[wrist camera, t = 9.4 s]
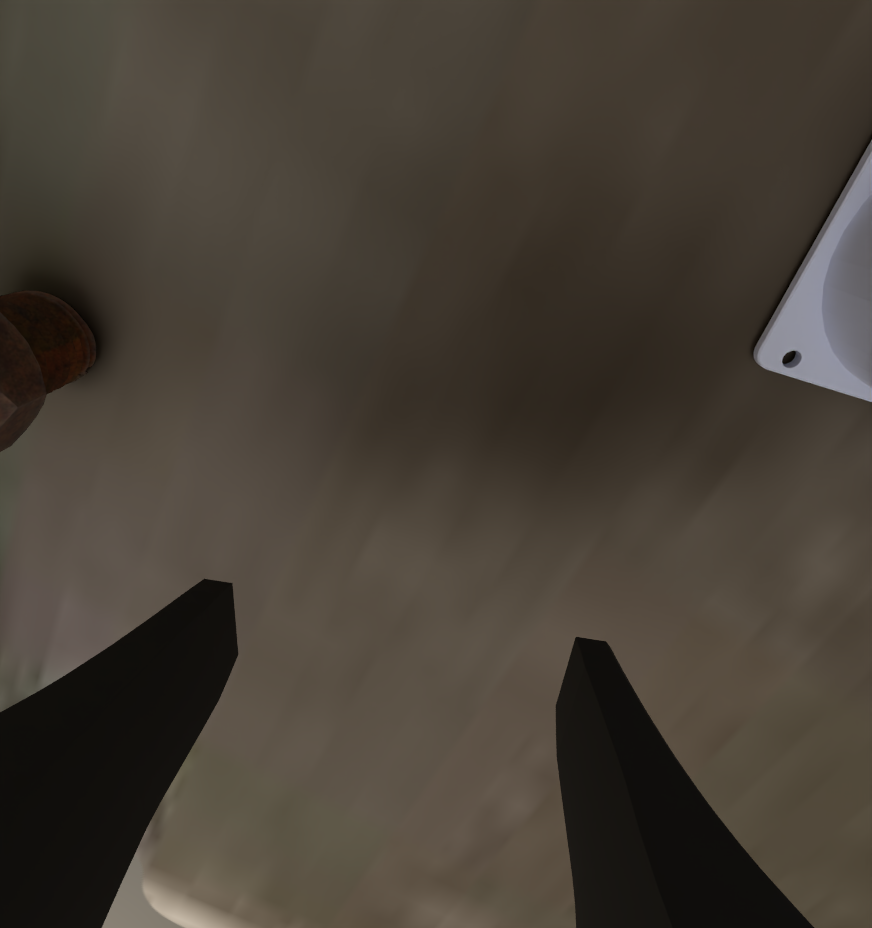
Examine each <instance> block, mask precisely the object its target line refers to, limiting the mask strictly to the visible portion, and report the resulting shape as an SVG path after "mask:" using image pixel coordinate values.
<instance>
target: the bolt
mask: <svg viewBox="0 0 872 928" xmlns="http://www.w3.org/2000/svg"><path fill="white" fill-rule="evenodd" d="M95 358H96V343H95V339H94V336H93V334H92V332H91V330H90V329H89V327H88V325H87V324H86V323H85V322H84V320H83V319H82V318H81V317H80V316H79V314H78V313H77V312H76V311H75V310H74V309H73V308H72V307H71V306H69V305H68V304H67V303H65V302H64V301H62V300H61V299H59V298H57V297H55V296H53V295H51V294H48V293H45V292H40V291H21V292H14V293H11V294H8V295H4V296H0V452H1V451H3V450H5V449H6V448H8V447H10V446H12V444H13V443H14V442H15V441H16V440H17V439H18V438H19V437H20V436H21V435H22V434H23V433H24V432H25V430H26V429H27V428H28V427H29V425H30V424H31V423H32V421H33V420H34V419H35V418H36V416H37V415H38V413H39V411H40V409H41V408H42V406H43V404H44V401H45V397H46V394H48V393H50V392H52V391H53V390H56V389H59V388H61V387H62V386H64V385H65V384H68V383H71V382H73V381H76V380H77V379H79V378H80V377H82V376H84V375H85V374H87V373H88V372H87V371H86V370H87V368H88V367H92V365H93V364H94V362H95Z"/></svg>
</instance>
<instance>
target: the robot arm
mask: <svg viewBox="0 0 872 928" xmlns="http://www.w3.org/2000/svg"><path fill="white" fill-rule="evenodd" d="M790 351H795V352H796V355H795V358H794V359H793V360H792V361H791V362H789V363H787V364H783V363H782V359H783V356H784V355H785V354H786V353H788V352H790ZM753 354H754V359H755V361H756V362H757V364H759V365H760V366H761V367H763V368H765V369H767V370H770V371H773V372H776V373H779V374H783V375H786V376H789V377H792V378H796V379H799V380H802V381H805V382H808V383H812V384H815V385H818V386H821V387H825V388H828V389H831V390H834V391H837V392H841V393H844V394H847V395H850V396H854V397H857V398H860V399H863V400H866V401H870V402H872V140H871V142H870V144H869V145H868V147H867V149H866V151H865V153H864V154H863V156H862V158H861V160H860V161H859V163H858V165H857V167H856V169H855V170H854V172H853V174H852V176H851V177H850V179H849V181H848V183H847V185H846V186H845V188H844V190H843V192H842V193H841V195H840V197H839V199H838V201H837V202H836V204H835V206H834V208H833V209H832V211H831V213H830V215H829V217H828V218H827V220H826V222H825V224H824V225H823V227H822V229H821V231H820V233H819V234H818V236H817V238H816V240H815V241H814V243H813V245H812V247H811V248H810V250H809V252H808V254H807V256H806V257H805V259H804V261H803V263H802V264H801V266H800V268H799V270H798V272H797V273H796V275H795V277H794V279H793V280H792V282H791V284H790V286H789V288H788V289H787V291H786V293H785V295H784V296H783V298H782V300H781V302H780V304H779V305H778V307H777V309H776V311H775V312H774V314H773V316H772V318H771V320H770V321H769V323H768V325H767V327H766V328H765V330H764V332H763V334H762V336H761V337H760V339H759V341H758V343H757V344H756V346H755V349H754V352H753ZM237 656H238V646H237V634H236V622H235V610H234V598H233V586H232V583H227V582H221V581H214V580H208V579H204V580H202V581H201V582H199V583H198V584H196V585H195V586H194V587H192V588H191V589H189V590H188V591H187V592H185V593H184V594H182V595H181V596H180V597H178V598H177V599H176V600H174V601H173V602H171V603H170V604H169V605H167V606H166V607H165V608H163V609H162V610H160V611H159V612H158V613H156V614H155V615H154V616H152V617H151V618H149V619H148V620H147V621H145V622H144V623H142V624H141V625H140V626H138V627H137V628H135V629H134V630H132V631H131V632H130V633H128V634H127V635H125V636H124V637H122V638H121V639H120V640H118V641H117V642H115V643H114V644H113V645H111V646H110V647H108V648H107V649H105V650H104V651H102V652H100V653H99V654H97V655H96V656H94V657H93V658H91V659H90V660H88V661H87V662H85V663H83V664H82V665H80V666H79V667H77V668H76V669H74V670H73V671H71V672H70V673H68V674H66V675H65V676H63V677H62V678H60V679H58V680H57V681H55V682H53V683H52V684H50V685H48V686H47V687H45V688H43V689H42V690H40V691H38V692H36V693H35V694H33V695H31V696H29V697H27V698H26V699H24V700H22V701H20V702H18V703H17V704H15V705H13V706H11V707H9V708H8V709H6V710H4V711H2V712H0V928H102V925H103V923H104V921H105V919H106V917H107V914H108V912H109V910H110V907H111V905H112V903H113V901H114V898H115V896H116V894H117V892H118V889H119V887H120V885H121V883H122V880H123V878H124V876H125V874H126V872H127V870H128V867H129V865H130V863H131V861H132V859H133V857H134V854H135V852H136V850H137V848H138V846H139V844H140V841H141V839H142V837H143V835H144V833H145V831H146V829H147V827H148V825H149V823H150V821H151V819H152V817H153V815H154V813H155V811H156V810H157V808H158V806H159V804H160V802H161V800H162V799H163V797H164V795H165V793H166V792H167V790H168V788H169V787H170V785H171V783H172V781H173V780H174V778H175V776H176V774H177V773H178V771H179V769H180V767H181V766H182V764H183V762H184V760H185V759H186V757H187V755H188V754H189V752H190V750H191V748H192V747H193V745H194V743H195V741H196V740H197V738H198V736H199V734H200V733H201V731H202V729H203V727H204V726H205V724H206V722H207V720H208V719H209V717H210V715H211V713H212V711H213V710H214V708H215V706H216V704H217V702H218V701H219V699H220V696H221V694H222V692H223V689H224V687H225V685H226V683H227V680H228V678H229V676H230V673H231V671H232V668H233V666H234V663H235V661H236V658H237ZM556 745H557V762H558V770H559V778H560V786H561V794H562V801H563V809H564V816H565V824H566V832H567V839H568V847H569V854H570V862H571V869H572V877H573V887H574V897H575V910H576V928H814V927H813V926H812V925H811V924H810V923H809V922H808V921H807V919H806V918H805V917H804V916H803V915H802V914H801V913H800V912H799V911H798V910H797V908H796V907H795V906H794V905H793V904H792V903H791V902H790V901H789V900H788V898H787V897H786V896H785V895H784V894H783V893H782V892H781V891H780V890H779V889H778V887H777V886H776V885H775V884H774V883H773V882H772V881H771V880H770V879H769V878H768V876H767V875H766V874H765V873H764V872H763V871H762V870H761V869H760V867H759V866H758V865H757V864H756V863H755V861H754V860H753V859H752V858H751V857H750V855H749V854H748V853H747V852H746V851H745V850H744V848H743V847H742V846H741V845H740V844H739V842H738V841H737V840H736V839H735V837H734V836H733V835H732V833H731V832H730V831H729V830H728V828H727V827H726V826H725V825H724V823H723V822H722V821H721V820H720V818H719V817H718V816H717V814H716V813H715V812H714V810H713V809H712V808H711V806H710V805H709V804H708V802H707V801H706V800H705V798H704V797H703V796H702V794H701V793H700V792H699V790H698V789H697V787H696V786H695V785H694V783H693V782H692V780H691V779H690V777H689V776H688V775H687V773H686V772H685V770H684V769H683V767H682V766H681V764H680V763H679V762H678V760H677V759H676V757H675V756H674V754H673V753H672V751H671V750H670V748H669V747H668V745H667V743H666V742H665V740H664V739H663V737H662V735H661V734H660V732H659V731H658V729H657V728H656V726H655V724H654V723H653V721H652V720H651V718H650V716H649V715H648V713H647V711H646V710H645V708H644V706H643V705H642V703H641V701H640V700H639V698H638V696H637V695H636V693H635V691H634V689H633V688H632V686H631V684H630V682H629V681H628V679H627V677H626V675H625V674H624V672H623V670H622V668H621V666H620V664H619V663H618V661H617V659H616V657H615V655H614V653H613V652H612V650H611V648H610V646H609V645H608V644H607V642H606V641H599V640H593V639H586V638H580V637H576V638H575V641H574V645H573V648H572V652H571V655H570V659H569V662H568V666H567V669H566V673H565V676H564V679H563V683H562V686H561V690H560V693H559V697H558V700H557V704H556Z"/></svg>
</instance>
